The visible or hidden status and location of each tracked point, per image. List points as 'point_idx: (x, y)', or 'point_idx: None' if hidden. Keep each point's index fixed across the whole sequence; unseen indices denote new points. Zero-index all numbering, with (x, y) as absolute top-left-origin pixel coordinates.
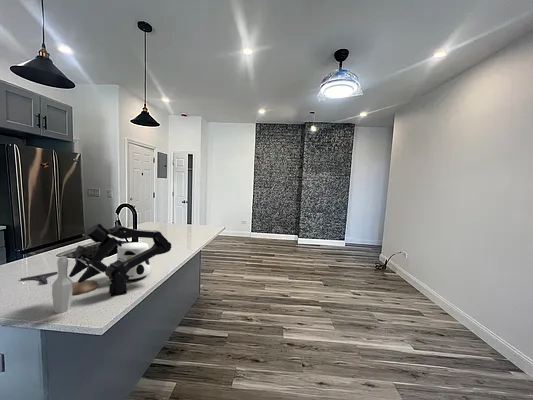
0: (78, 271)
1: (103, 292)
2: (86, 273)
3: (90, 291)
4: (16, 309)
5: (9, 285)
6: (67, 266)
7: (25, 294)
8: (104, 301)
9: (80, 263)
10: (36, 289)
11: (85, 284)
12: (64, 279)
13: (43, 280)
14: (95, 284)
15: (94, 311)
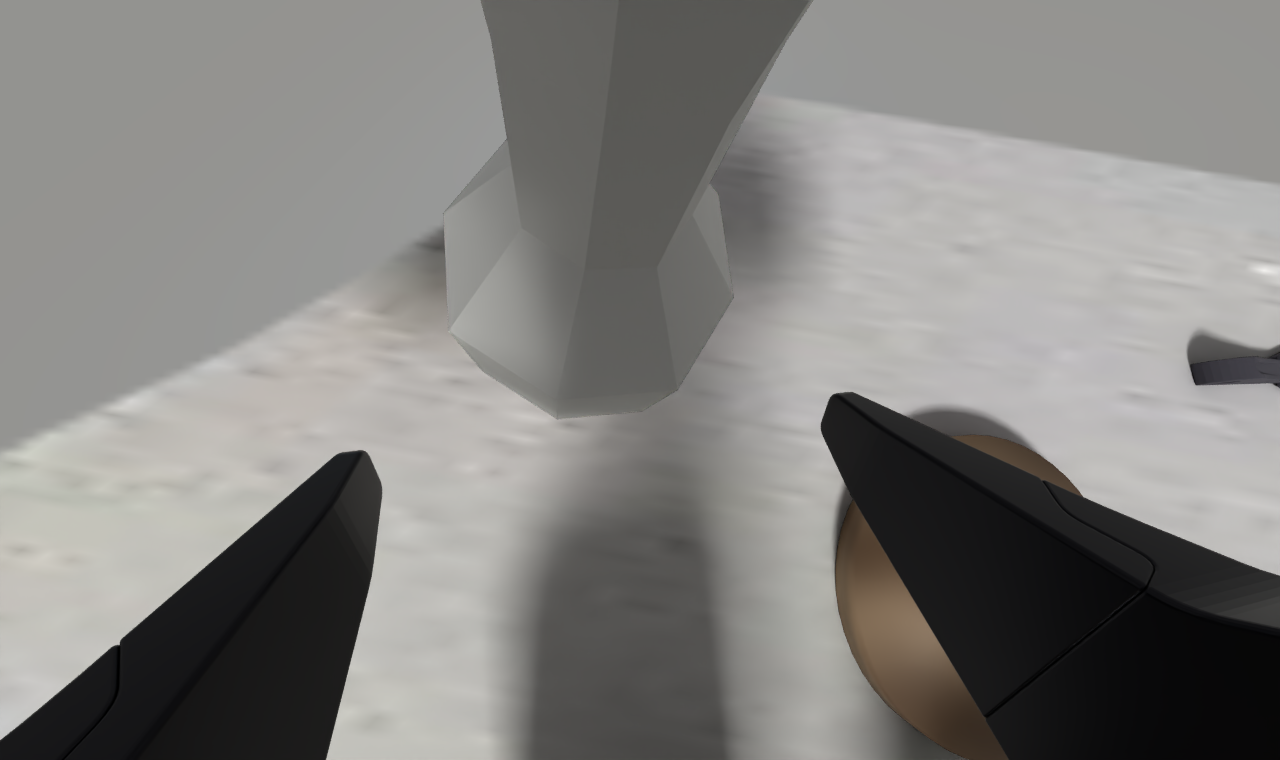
0: (921, 578)
1: (749, 756)
2: (35, 747)
3: (849, 644)
4: (809, 153)
5: (1254, 202)
6: (603, 18)
7: (1050, 239)
8: (497, 716)
9: (1229, 740)
10: (1112, 307)
11: None
12: (496, 216)
13: (1247, 357)
14: (957, 727)
15: None
